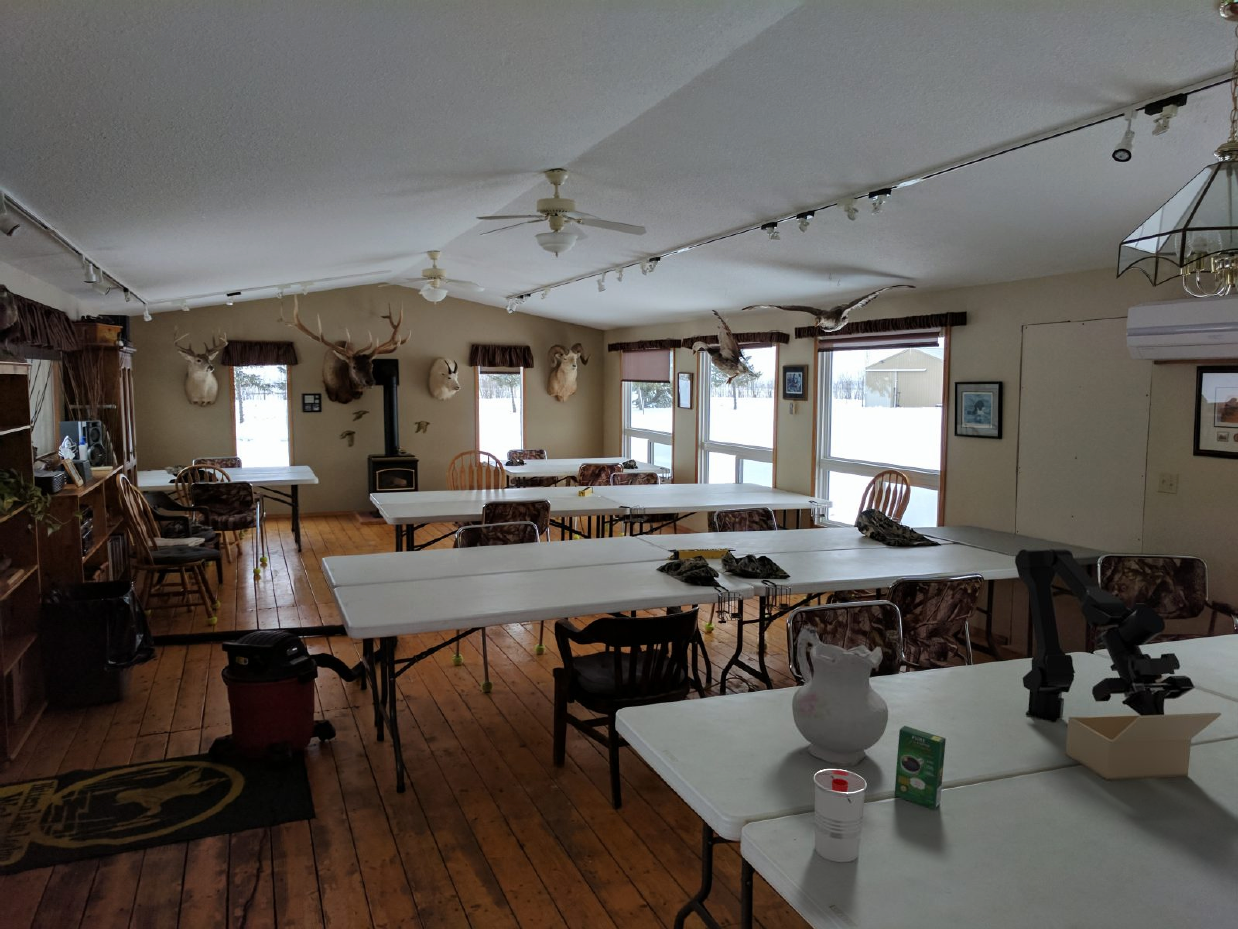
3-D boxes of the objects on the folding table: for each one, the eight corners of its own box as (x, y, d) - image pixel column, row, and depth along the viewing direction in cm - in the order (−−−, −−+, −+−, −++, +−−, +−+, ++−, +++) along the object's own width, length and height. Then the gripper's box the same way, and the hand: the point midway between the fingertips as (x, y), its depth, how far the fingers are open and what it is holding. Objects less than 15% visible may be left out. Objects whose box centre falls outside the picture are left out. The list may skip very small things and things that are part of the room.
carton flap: (1139, 715, 159) (1140, 717, 159) (1220, 712, 161) (1221, 714, 161) (1111, 741, 166) (1112, 743, 166) (1189, 737, 168) (1190, 739, 168)
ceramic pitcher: (763, 752, 179) (763, 639, 175) (811, 719, 193) (812, 614, 189) (858, 787, 164) (861, 665, 160) (903, 749, 178) (906, 636, 174)
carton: (1065, 754, 178) (1068, 717, 178) (1142, 750, 181) (1145, 714, 180) (1106, 780, 167) (1109, 741, 166) (1187, 776, 169) (1191, 737, 168)
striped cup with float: (802, 835, 144) (805, 767, 142) (850, 834, 144) (854, 766, 143) (820, 868, 134) (824, 796, 133) (873, 867, 134) (877, 795, 133)
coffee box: (942, 806, 155) (947, 736, 154) (936, 811, 153) (941, 741, 151) (899, 791, 160) (903, 724, 159) (893, 796, 158) (897, 728, 157)
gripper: (1108, 639, 166) (1144, 716, 157) (1192, 637, 169) (1233, 713, 159) (1076, 663, 175) (1109, 738, 165) (1157, 661, 177) (1194, 734, 168)
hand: (1162, 730), depth 164 cm, fingers closed, pressing on carton flap
